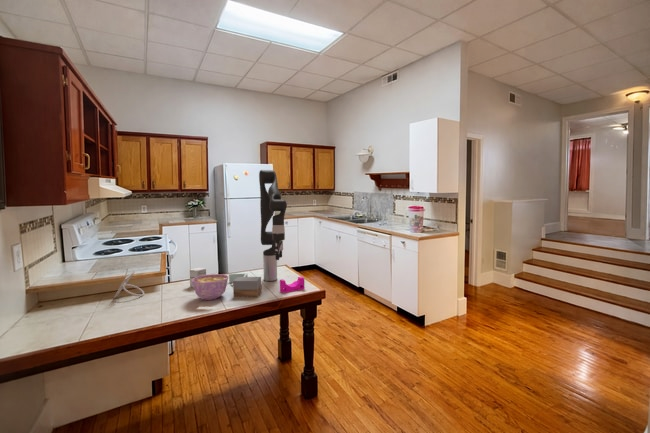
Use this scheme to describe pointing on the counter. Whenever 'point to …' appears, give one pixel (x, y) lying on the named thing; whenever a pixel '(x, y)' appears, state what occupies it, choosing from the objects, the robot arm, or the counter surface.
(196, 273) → the supplement box
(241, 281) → the tower top
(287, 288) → the toy block
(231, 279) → the right angle wall
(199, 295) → the bowl of food
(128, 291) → the wire frame
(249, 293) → the tower bottom
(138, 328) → the counter surface
